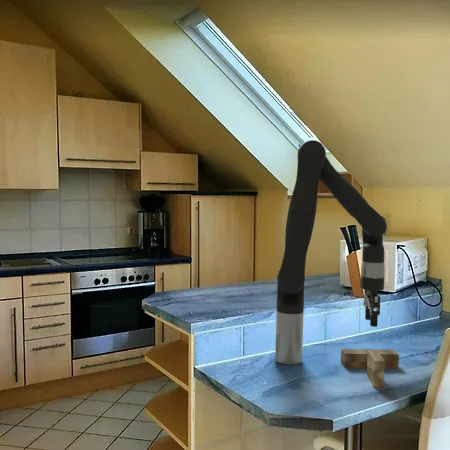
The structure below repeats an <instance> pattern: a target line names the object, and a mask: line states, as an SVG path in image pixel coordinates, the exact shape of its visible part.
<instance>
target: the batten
mask: <svg viewBox="0 0 450 450" xmlns="http://www.w3.org/2000/svg"><path fill="white" fill-rule="evenodd" d="M340 349H341V350H340V363H341V364H342V366H343V368H344V369H345V368H349V369H350V368H351V369H352V368H353V369H355V368H356V369H367V356H368V350H377V351H378V352H379V354H380V355H381V356H382V358H383V359H384V361H385V365H384V369H399V367H400V366H399V365H400V364H399V363H400V354H399V353H398V352H397V351H396V350H394V349H377V348H376V349H372V348H369V349H368V348H367V349H366V348H340Z"/></svg>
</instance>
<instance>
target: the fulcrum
mask: <svg viewBox="0 0 450 450" xmlns="http://www.w3.org/2000/svg"><path fill="white" fill-rule="evenodd" d="M384 365H385V361H384V359H383V358H382V356H381V355H380V354H379V352H378V351H377V350H368V356H367V368H366V377H368V380H369V381H370V384H371V385H372V387H374V388H384V385H385V384H384V383H385V368H384Z"/></svg>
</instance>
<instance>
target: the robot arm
mask: <svg viewBox="0 0 450 450" xmlns="http://www.w3.org/2000/svg"><path fill="white" fill-rule="evenodd" d="M319 181H320V182H321V183H322V184H323V185H324V186H325V188H327V190H328V191H329V192H330V193H331V195H332V196H333V197H334V198H335V199H336V201H337V202H338V203H339V204H340V205H341V207H342V208H343V209H344V210H345V211H346V212H347V213H348V214H349V215H350V216H351V217H352V218H354V219H355V221H356V222H357V223H358V224H359V226H361V233H362V234H361V235H362V236H361V237H362V255H361V256H362V257H361V258H362V259H361V266H360V267H361V269H360V289H362V290H363V291H364V292H363V293H364V297H363V306H364V310H365V311H364V312H365V317H364V318H365V321H369V325H370V326H371V327H372V328H373V327H374V328H377V327H378V319H379V317H378V316H380V315H381V296H379V295H378V292H380V291H384V290H385V273H386V271H385V269H386V267H385V247H384V243H383V241H384V240H383V238H384V235H385V233H386V231H387V229H388V226H387V222H386V220H385V218H384V217H383V216H382V215H381V214H380V213H379V212H377V210H375V209H374V208H373V206H371V205H370V204H369V203H368V201H367V200H366V199H365V197H364V196H363V195H362V194H361V193H360V192H359V191H358V190H357V188H355V186H353V185H352V184H351V183H350V182H349V181H348V180H347V179H346V178H345V177H344V176H343V175H342V174H340V172H338V171H337V169H336V168H335V167H334V166H333V165H332V163H331V162H330V160H329V159H328V157H327V151H326V149H325V146H324V145H323V144H322V143H321V142H319V140H314V139H310V140H307V141H305V142H303V143H302V144H301V145H300V146H299V148H298V151H297V168H296V180H295V185H294V188H293V191H292V195H291V197H290V201H289V205H288V211H287V216H286V217H287V218H286V222H285V237H284V238H285V239H284V241H285V242H284V243H285V244H284V253H283V257H282V262H281V265H280V269H279V270H278V272H277V277H276V279H277V281H276V282H277V284H276V285H277V287H276V292H277V293H276V317H275V318H276V321H275V342H274V345H275V348H274V351H275V352H274V362H275V363H279V364H283V365H298V364H301V363H302V362H303V347H304V346H303V344H304V343H303V341H304V338H303V337H304V316H305V315H304V311H305V309H304V308H305V307H304V306H305V280H306V276H305V275H306V260H307V254H308V250H309V245H310V242H311V240H312V235H313V232H314V227H315V223H316V222H315V221H316V215H317V207H318V195H319V194H318V193H319V192H318V190H319Z"/></svg>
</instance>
